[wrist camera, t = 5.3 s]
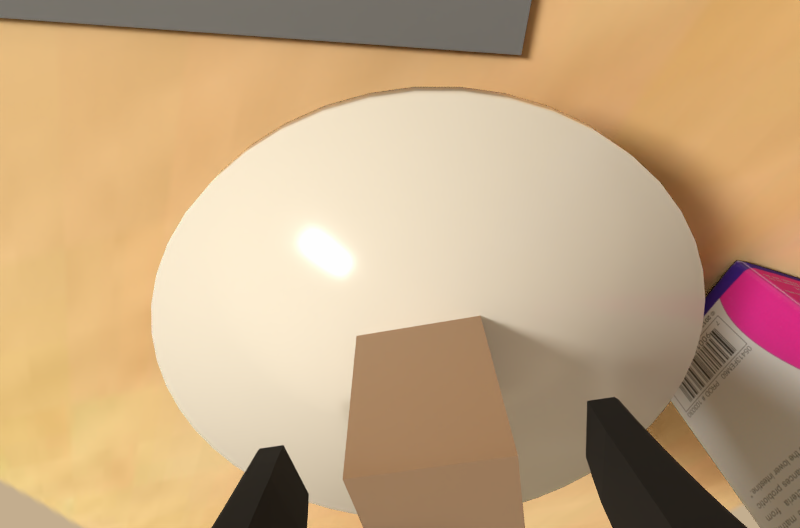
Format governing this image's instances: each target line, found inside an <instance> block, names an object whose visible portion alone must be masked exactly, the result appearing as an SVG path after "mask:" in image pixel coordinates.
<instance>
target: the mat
mask: <svg viewBox="0 0 800 528" xmlns="http://www.w3.org/2000/svg"><path fill="white" fill-rule="evenodd" d="M531 1H532V0H0V18H10V19H24V20H38V21H52V22H66V23H80V24H94V25H108V26H122V27H136V28H149V29H163V30H177V31H191V32H205V33H219V34H233V35H247V36H261V37H275V38H289V39H303V40H317V41H331V42H345V43H359V44H373V45H387V46H401V47H415V48H429V49H443V50H457V51H470V52H484V53H498V54H512V55H521V54H522V48H523V43H524V38H525V32H526V27H527V22H528V17H529V11H530V6H531Z"/></svg>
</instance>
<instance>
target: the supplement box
mask: <svg viewBox="0 0 800 528" xmlns="http://www.w3.org/2000/svg"><path fill="white" fill-rule="evenodd" d="M671 402H672V403H673V405H674V406H675V407H676V409H677V410H678V412H679V413H680V415H681V416H682V417H683V419H684V420H685V422H686V423H687V425H688V426H689V428H690V429H691V430H692V432H693V433H694V435H695V436H696V438H697V439H698V440H699V442H700V443H701V445H702V446H703V448H704V449H705V450H706V452H707V453H708V455H709V456H710V457H711V459H712V460H713V462H714V463H715V464H716V466H717V467H718V469H719V470H720V471H721V473H722V474H723V476H724V477H725V479H726V480H727V481H728V483H729V484H730V486H731V487H732V488H733V490H734V491H735V493H736V494H737V496H738V497H739V498H740V500H741V501H742V503H743V504H744V505H745V507H746V508H747V510H748V511H749V512H750V514H751V515H752V517H753V518H754V519H755V521H756V522H757V524H758V525H759V527H760V528H800V279H799V278H795V277H792V276H789V275H786V274H783V273H780V272H777V271H773V270H770V269H767V268H764V267H760V266H757V265H754V264H750V263H747V262H742V261H740V260H738V261H736V262H735V263H734V264H733V265H732V266H731V267H730V268H729V269H728V271H727V272H726V273H725V274H724V275H723V277H722V278H721V279H720V281H719V282H718V283H717V284H716V286H715V287H714V288H713V289H712V291H711V292H710V293H709V294H708V295H707V297H706V298H705V307H704V316H703V326H702V331H701V334H700V338H699V342H698V345H697V349H696V352H695V356H694V358H693V360H692V362H691V364H690V367H689V369H688V371H687V373H686V375H685V378H684V380H683V382H682V383H681V385H680V386H679V388H678V389H677V391H676V393H675V394H674V396H673V397H672V399H671Z"/></svg>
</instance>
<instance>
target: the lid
mask: <svg viewBox="0 0 800 528" xmlns="http://www.w3.org/2000/svg"><path fill="white" fill-rule="evenodd" d="M704 307H705V289H704V276H703V268H702V264H701V260H700V257H699V253H698V249H697V245H696V241H695V239H694V237H693V235H692V233H691V231H690V229H689V226H688V224H687V222H686V220H685V218H684V216H683V214H682V212H681V210H680V209H679V207H678V206H677V205H676V203H675V202H674V201H673V199H672V198H671V196H670V195H669V194H668V192H667V191H666V190H665V188H664V187H663V186H662V184H661V183H660V182H659V181H658V180H657V179H656V178H655V177H654V176H653V175H652V174H651V173H650V172H649V171H648V170H647V169H646V168H645V167H644V166H642V165H641V164H640V163H639V162H638V161H637V160H636V159H635V158H634V157H633V156H632V155H630V154H629V153H628V152H626V151H625V150H623V149H622V148H621V147H619V146H618V145H616V144H615V143H613V142H612V141H610V140H609V139H608V138H606V137H605V136H603V135H602V134H600V133H599V132H597V131H596V130H594V129H593V128H591V127H590V126H588V125H587V124H585V123H584V122H581V121H579V120H577V119H575V118H573V117H571V116H568V115H566V114H564V113H562V112H560V111H558V110H555V109H553V108H551V107H549V106H547V105H544V104H540V103H537V102H533V101H530V100H526V99H523V98H519V97H516V96H513V95H509V94H506V93H500V92H493V91H485V90H478V89H471V88H464V87H411V88H403V89H396V90H389V91H382V92H374V93H368V94H365V95H361V96H358V97H354V98H350V99H347V100H343V101H340V102H336V103H333V104H329V105H326V106H323V107H321V108H319V109H317V110H314V111H312V112H310V113H308V114H305V115H303V116H301V117H299V118H296V119H294V120H292V121H290V122H287V123H285V124H284V125H282V126H281V127H279V128H277V129H276V130H274V131H273V132H271V133H269V134H268V135H266V136H265V137H263V138H261V139H260V140H258V141H257V142H255V143H254V144H252V145H251V146H249V147H248V148H247V149H246V150H245V151H244V152H243V153H241V154H240V155H239V156H238V157H237V158H236V159H234V160H233V161H232V162H231V163H230V164H229V165H227V166H226V167H225V168H224V169H223V170H222V171H221V172H220V173H219V174H218V175H217V176H216V177H215V179H214V180H213V181H212V182H211V183H210V184H209V185H208V187H207V188H206V189H205V190H204V191H203V193H202V194H201V195H200V196H199V197H198V198H197V200H196V201H195V202H194V203H193V204H192V206H191V207H190V208H189V209H188V210H187V212H186V213H185V214H184V216H183V218H182V220H181V221H180V223H179V225H178V227H177V228H176V230H175V232H174V233H173V235H172V237H171V239H170V240H169V242H168V244H167V247H166V249H165V252H164V255H163V258H162V260H161V263H160V266H159V269H158V271H157V274H156V280H155V286H154V292H153V298H152V304H151V311H152V337H153V342H154V347H155V353H156V358H157V362H158V365H159V367H160V370H161V373H162V375H163V378H164V381H165V384H166V386H167V388H168V390H169V392H170V393H171V395H172V397H173V399H174V401H175V402H176V404H177V406H178V408H179V409H180V411H181V412H182V413H183V415H184V416H185V417H186V419H187V420H188V421H189V423H190V424H191V425H192V427H193V428H194V429H195V430H196V431H197V432H198V433H199V434H200V435H201V436H202V437H203V439H204V440H205V441H206V442H207V443H208V444H209V445H210V446H211V447H212V448H213V449H215V450H216V451H217V452H218V453H220V454H221V455H222V456H223V457H224V458H226V459H227V460H228V461H229V462H231V463H232V464H233V465H235V466H236V467H238V468H239V469H241V470H242V471H244V472H245V471H246V470H247V468H248V466H249V464H250V463H251V461H252V459H253V458H254V456H255V454H256V453H257V451H258V450H259V449H260V448H267V447H273V446H280V445H284V447H285V449H286V451H287V453H288V455H289V457H290V459H291V460H292V462H293V464H294V466H295V468H296V470H297V472H298V474H299V476H300V478H301V480H302V482H303V484H304V486H305V488H306V490H307V492H308V493H309V500H308V502H309V503H313V504H316V505H319V506H323V507H326V508H329V509H334V510H339V511H343V512H348V513H353V514H358V516H359V519H360V521H361V523H362V525H363V528H525V524H524V513H523V502H526V501H529V500H532V499H535V498H538V497H541V496H543V495H545V494H548V493H550V492H553V491H555V490H557V489H560V488H562V487H564V486H566V485H568V484H570V483H572V482H574V481H576V480H578V479H580V478H582V477H584V476H586V475H588V474H589V473H591V471H590V468H589V465H588V462H587V459H586V424H587V401H590V400H596V399H603V398H610V397H616V398H617V399H619V400H620V401H621V403H622V404H623V405H624V406H625V407H626V408H627V409H628V410H629V412H630V413H631V414H632V415H633V416H634V417H635V418H636V419H637V421H638V422H639V423H640V424H641V425H642V426H643V427H644V428H645V429H647V428H648V427H649V426H650V425H651V424H652V423H653V422H654V421H655V419H656V418H657V417H658V416H659V415H660V413H661V412H662V411H663V410H664V409H665V407H666V406H667V405H668V404H669V402H670V401H671V399H672V397H673V396H674V394H675V393H676V391H677V389H678V388H679V386H680V385H681V383H682V382H683V380H684V378H685V375H686V373H687V371H688V369H689V367H690V364H691V362H692V360H693V358H694V356H695V352H696V349H697V345H698V342H699V338H700V334H701V331H702V326H703V316H704Z"/></svg>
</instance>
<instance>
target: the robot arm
mask: <svg viewBox="0 0 800 528" xmlns="http://www.w3.org/2000/svg"><path fill="white" fill-rule="evenodd" d="M586 459H587V462H588V465H589V468H590V471H591V474H592V477H593V480H594V483H595V486H596V489H597V492H598V494H599V497H600V500H601V503H602V505H603V507H604V510H605V512H606V514H607V516H608V519H609V521H610V523H611V525H612V527H613V528H747V527H746V526H745V525H744V524H742V523H741V522H740V521H739V520H738V519H737V518H736V517H735V516H734V515H733V514H731V513H730V512H729V511H728V510H727V509H726V508H725V507H724V506H722V505H721V504H720V503H719V502H718V501H717V500H716V499H715V498H714V497H713V496H712V495H711V494H710V493H709V492H707V491H706V490H705V489H704V488H703V487H702V486H701V485H700V484H699V483H698V482H697V481H696V480H695V479H694V478H693V477H692V476H691V475H690V474H689V473H688V472H687V471H686V470H685V469H684V468H683V467H682V466H681V465H680V464H679V463H678V462H677V461H676V460H675V459H674V458H673V457H672V456H671V455H670V454H669V453H668V452H667V451H666V450H665V449H664V448H663V447H662V446H661V445H660V444H659V443H658V442H657V441H656V440H655V439H654V438H653V437H652V436H651V435H650V434H649V432H648V431H647V430H646V429H645V428H644V427H643V426H642V425H641V424H640V423H639V422H638V421H637V419H636V418H635V417H634V416H633V415H632V414H631V413H630V412H629V410H628V409H627V408H626V407H625V406H624V405H623V404H622V403H621V401H620V400H619V399H617V398H616V397H610V398H603V399H596V400H590V401H587V424H586ZM308 500H309V493H308V492H307V490H306V488H305V486H304V484H303V482H302V480H301V478H300V476H299V474H298V472H297V470H296V468H295V466H294V464H293V462H292V460H291V459H290V457H289V455H288V453H287V451H286V449H285V447H284V445H280V446H273V447H267V448H260V449H259V450H258V451H257V453H256V454H255V456H254V458H253V459H252V461H251V463H250V464H249V466H248V468H247V470H246V471H245V473H244V475H243V476H242V478H241V480H240V481H239V483H238V485H237V487H236V488H235V490H234V492H233V493H232V495H231V497H230V498H229V500H228V502H227V503H226V505H225V507H224V508H223V510H222V512H221V513H220V515H219V516H218V518H217V520H216V521H215V523H214V524H213V526H212V528H307V518H308Z"/></svg>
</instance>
